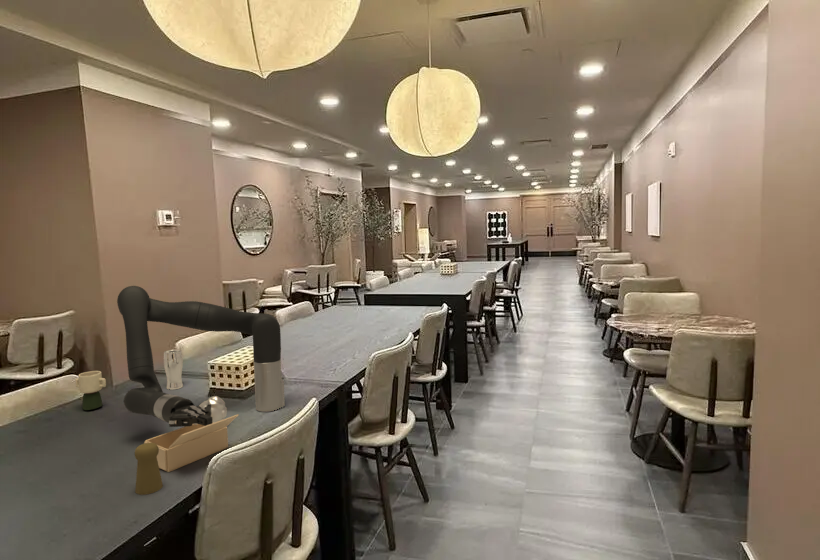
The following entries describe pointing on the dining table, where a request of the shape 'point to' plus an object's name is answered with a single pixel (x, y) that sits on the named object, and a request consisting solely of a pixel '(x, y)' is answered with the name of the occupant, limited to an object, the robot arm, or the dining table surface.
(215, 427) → the flap
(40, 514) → the dining table surface
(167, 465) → the carton
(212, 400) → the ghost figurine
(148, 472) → the cork
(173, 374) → the beer glass
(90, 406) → the trophy cup
